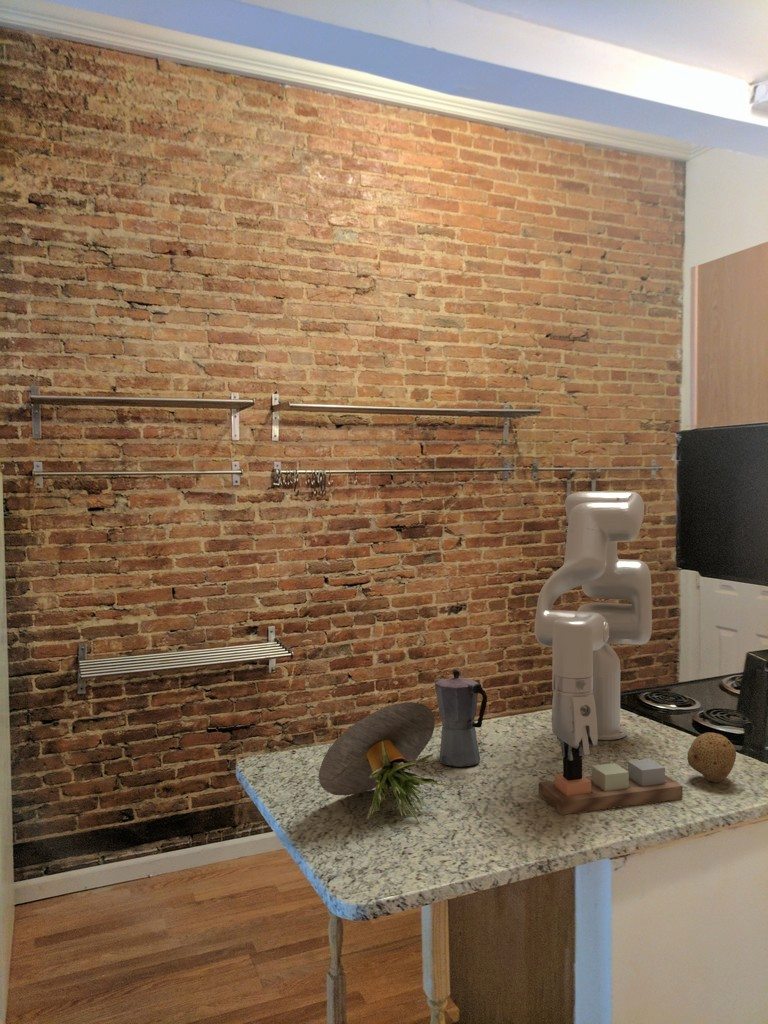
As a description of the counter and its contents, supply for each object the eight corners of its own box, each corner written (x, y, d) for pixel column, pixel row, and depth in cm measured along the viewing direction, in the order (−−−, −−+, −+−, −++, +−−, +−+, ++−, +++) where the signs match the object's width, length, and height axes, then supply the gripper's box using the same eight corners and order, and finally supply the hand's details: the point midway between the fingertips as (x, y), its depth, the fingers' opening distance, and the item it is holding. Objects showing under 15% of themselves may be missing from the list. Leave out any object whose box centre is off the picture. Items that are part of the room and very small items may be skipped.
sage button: (605, 795, 150) (605, 774, 150) (591, 785, 155) (591, 765, 155) (628, 792, 151) (628, 772, 151) (614, 782, 156) (614, 763, 156)
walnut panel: (561, 814, 145) (561, 801, 145) (538, 794, 154) (538, 782, 154) (682, 798, 152) (682, 785, 152) (653, 780, 161) (653, 768, 161)
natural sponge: (687, 786, 157) (687, 737, 157) (686, 771, 166) (687, 724, 165) (737, 792, 154) (737, 742, 154) (734, 776, 163) (734, 728, 162)
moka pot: (449, 747, 182) (448, 661, 181) (503, 764, 171) (502, 673, 170) (421, 758, 175) (420, 669, 174) (475, 776, 164) (474, 681, 163)
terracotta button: (567, 805, 148) (567, 784, 148) (554, 795, 153) (554, 774, 152) (591, 802, 149) (591, 781, 149) (578, 792, 154) (578, 771, 154)
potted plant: (319, 868, 141) (378, 794, 127) (292, 779, 152) (344, 703, 139) (431, 848, 154) (495, 779, 141) (399, 768, 166) (455, 697, 152)
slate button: (642, 790, 152) (642, 770, 152) (627, 781, 157) (627, 761, 157) (664, 787, 153) (665, 767, 153) (649, 778, 158) (649, 758, 158)
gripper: (611, 692, 144) (611, 791, 144) (571, 672, 158) (571, 762, 159) (574, 695, 142) (574, 795, 142) (537, 675, 156) (537, 766, 157)
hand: (572, 778), depth 151 cm, fingers closed
